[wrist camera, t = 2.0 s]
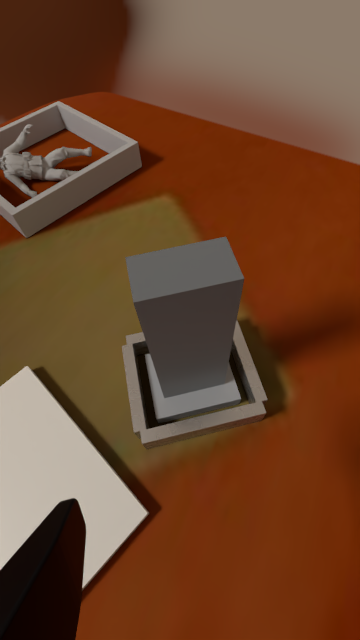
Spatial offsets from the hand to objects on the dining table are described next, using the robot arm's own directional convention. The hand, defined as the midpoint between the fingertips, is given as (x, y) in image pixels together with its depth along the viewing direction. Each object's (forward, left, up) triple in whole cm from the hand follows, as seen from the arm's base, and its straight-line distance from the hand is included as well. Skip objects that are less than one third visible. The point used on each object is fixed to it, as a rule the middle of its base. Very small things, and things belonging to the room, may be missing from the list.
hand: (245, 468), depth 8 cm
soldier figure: (+37, -11, -14) cm, 41 cm away
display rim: (+38, -12, -13) cm, 42 cm away
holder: (+6, -4, -13) cm, 15 cm away
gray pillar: (+6, -4, -13) cm, 15 cm away
